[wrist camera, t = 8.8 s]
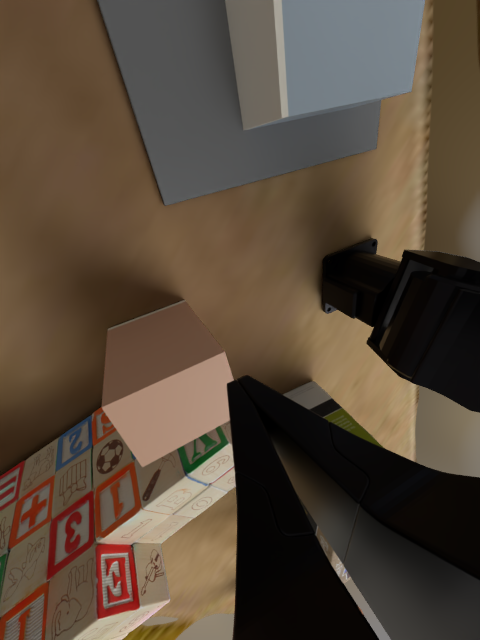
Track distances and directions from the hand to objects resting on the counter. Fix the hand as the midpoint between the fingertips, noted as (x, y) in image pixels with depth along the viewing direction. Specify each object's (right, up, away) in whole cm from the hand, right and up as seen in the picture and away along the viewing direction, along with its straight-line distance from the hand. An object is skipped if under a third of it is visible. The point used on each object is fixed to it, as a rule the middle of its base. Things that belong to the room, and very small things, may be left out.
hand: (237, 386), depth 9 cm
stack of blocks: (-12, -8, +13) cm, 20 cm away
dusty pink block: (-6, +1, +11) cm, 13 cm away
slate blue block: (+1, +16, +3) cm, 16 cm away
